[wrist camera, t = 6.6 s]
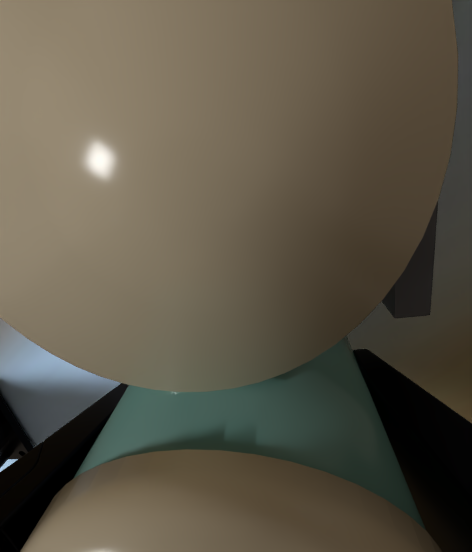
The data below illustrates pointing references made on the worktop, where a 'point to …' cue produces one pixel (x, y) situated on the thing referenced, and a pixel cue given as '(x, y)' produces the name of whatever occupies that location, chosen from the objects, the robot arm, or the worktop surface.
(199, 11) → the slate jar
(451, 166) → the worktop surface
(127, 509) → the teal jar
